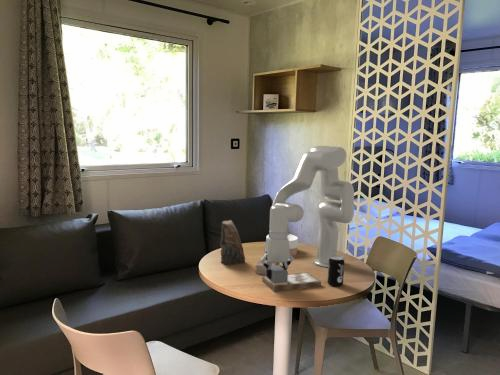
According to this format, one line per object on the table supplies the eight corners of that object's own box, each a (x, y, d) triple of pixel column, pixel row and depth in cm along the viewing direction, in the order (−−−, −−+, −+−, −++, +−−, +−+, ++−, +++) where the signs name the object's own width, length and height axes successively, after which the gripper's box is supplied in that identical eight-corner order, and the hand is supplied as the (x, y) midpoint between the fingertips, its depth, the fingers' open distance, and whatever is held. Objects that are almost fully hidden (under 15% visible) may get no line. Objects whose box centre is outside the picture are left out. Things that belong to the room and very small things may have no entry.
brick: (272, 276, 177) (272, 266, 176) (254, 274, 179) (254, 264, 179) (280, 265, 193) (280, 256, 192) (263, 263, 195) (264, 254, 194)
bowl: (281, 245, 228) (282, 231, 227) (303, 253, 215) (304, 238, 213) (259, 250, 217) (260, 235, 216) (281, 258, 204) (281, 242, 203)
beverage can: (333, 288, 165) (335, 260, 163) (324, 282, 170) (325, 255, 169) (346, 286, 167) (347, 259, 166) (336, 280, 173) (338, 254, 172)
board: (307, 276, 177) (307, 271, 177) (321, 286, 166) (321, 281, 166) (262, 281, 169) (262, 276, 169) (273, 291, 158) (273, 286, 158)
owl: (224, 266, 187) (225, 225, 185) (211, 259, 198) (212, 220, 195) (246, 262, 194) (247, 223, 192) (233, 255, 205) (234, 218, 202)
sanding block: (278, 276, 170) (278, 265, 170) (287, 283, 162) (287, 271, 161) (265, 277, 168) (265, 266, 167) (274, 285, 160) (274, 273, 159)
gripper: (292, 232, 169) (290, 272, 171) (255, 234, 163) (253, 276, 165) (300, 236, 162) (298, 278, 164) (262, 238, 156) (260, 282, 158)
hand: (276, 276), depth 165 cm, fingers closed on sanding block, 6 cm apart
